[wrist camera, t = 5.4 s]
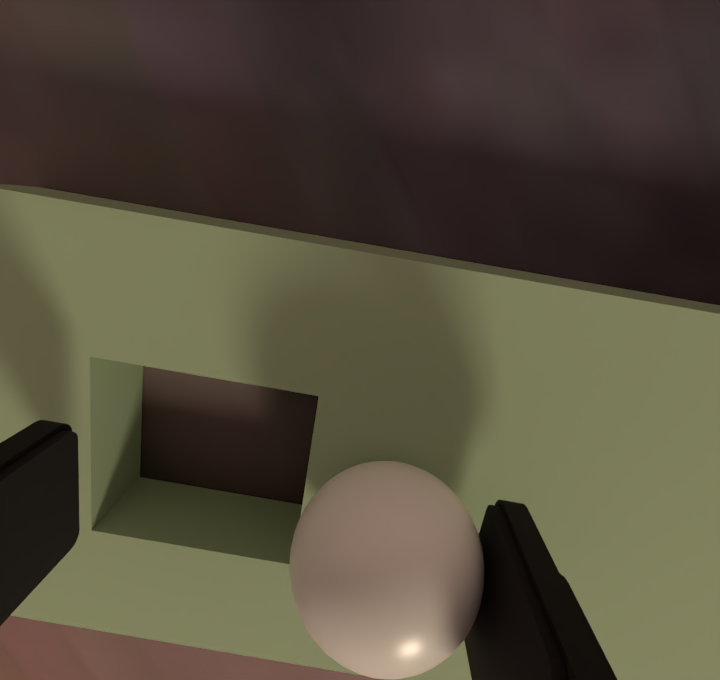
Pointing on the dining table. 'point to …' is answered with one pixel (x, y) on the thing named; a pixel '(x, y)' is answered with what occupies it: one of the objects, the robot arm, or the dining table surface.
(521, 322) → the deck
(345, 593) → the ball
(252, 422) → the dining table surface
